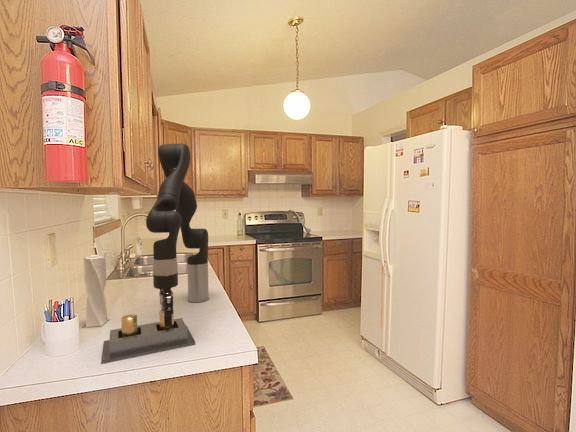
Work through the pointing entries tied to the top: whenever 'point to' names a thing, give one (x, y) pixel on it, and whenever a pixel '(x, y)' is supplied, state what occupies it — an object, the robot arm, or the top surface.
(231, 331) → the top surface
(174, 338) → the jig
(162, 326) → the gold and grey cylinder
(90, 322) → the skyscraper
